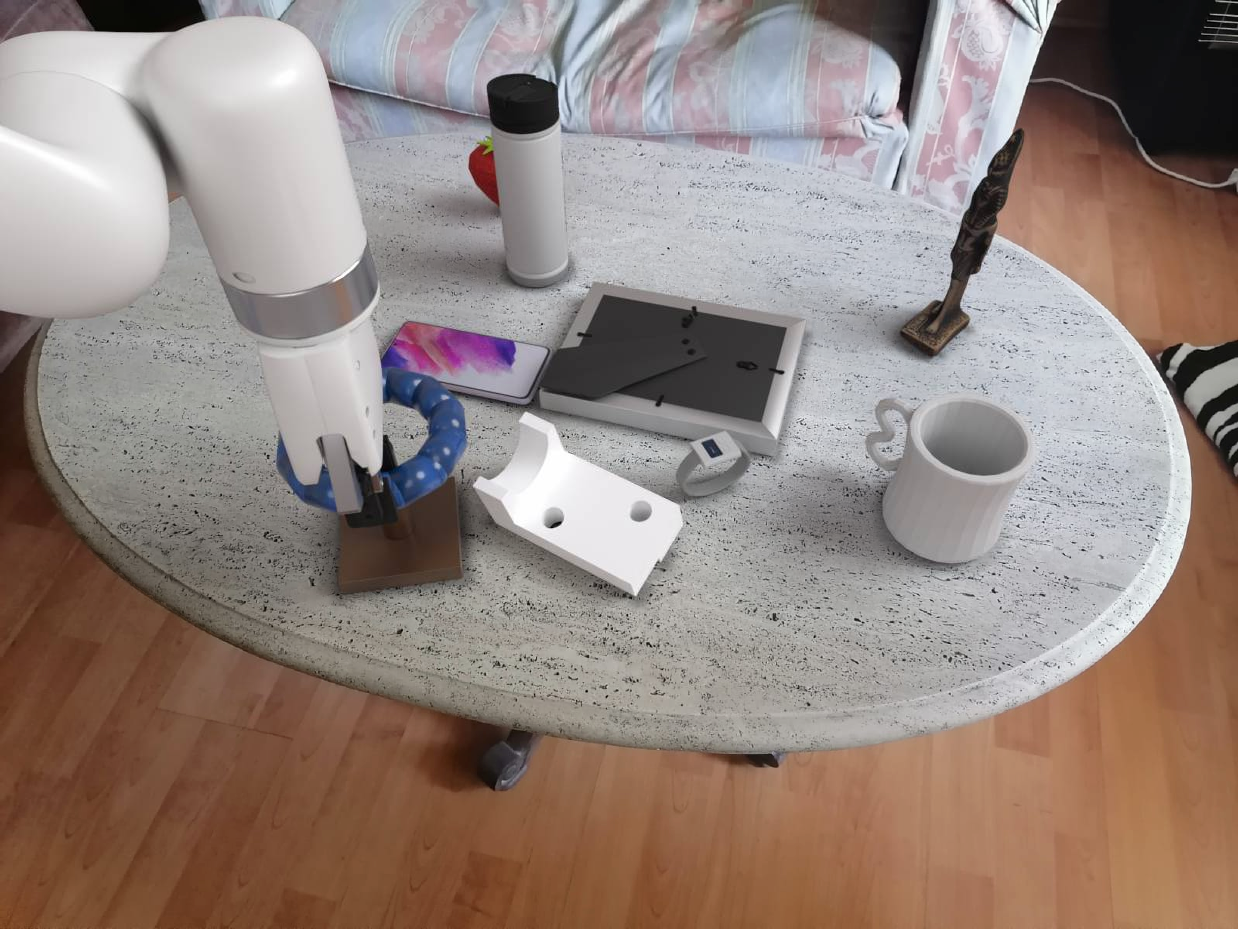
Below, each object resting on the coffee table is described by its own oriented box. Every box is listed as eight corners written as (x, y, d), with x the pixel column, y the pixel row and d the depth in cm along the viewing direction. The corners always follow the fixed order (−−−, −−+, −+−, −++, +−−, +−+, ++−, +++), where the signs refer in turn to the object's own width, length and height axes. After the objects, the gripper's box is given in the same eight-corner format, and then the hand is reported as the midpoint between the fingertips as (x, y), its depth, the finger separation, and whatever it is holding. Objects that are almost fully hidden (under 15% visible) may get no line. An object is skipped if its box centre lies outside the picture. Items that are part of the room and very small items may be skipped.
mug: (1020, 522, 75) (1064, 436, 67) (954, 589, 71) (993, 506, 63) (891, 439, 81) (918, 351, 73) (823, 496, 77) (844, 409, 69)
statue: (894, 341, 89) (949, 148, 74) (934, 305, 92) (993, 113, 77) (933, 362, 87) (997, 167, 72) (972, 324, 91) (1041, 131, 75)
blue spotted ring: (277, 536, 62) (266, 511, 60) (288, 399, 70) (278, 373, 68) (475, 507, 63) (470, 481, 61) (462, 376, 71) (457, 350, 69)
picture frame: (540, 408, 84) (773, 456, 80) (538, 385, 82) (777, 433, 78) (594, 298, 94) (804, 336, 90) (593, 274, 91) (808, 313, 87)
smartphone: (528, 401, 83) (371, 369, 86) (529, 408, 84) (374, 376, 86) (554, 346, 87) (405, 317, 90) (555, 353, 88) (406, 324, 91)
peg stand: (342, 594, 71) (306, 507, 63) (345, 502, 77) (313, 411, 69) (463, 578, 72) (442, 490, 64) (457, 487, 78) (437, 396, 70)
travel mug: (492, 274, 96) (467, 85, 81) (534, 243, 100) (518, 56, 84) (539, 298, 94) (522, 107, 78) (581, 265, 97) (572, 76, 82)
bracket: (499, 528, 76) (472, 486, 70) (546, 458, 79) (525, 411, 72) (637, 601, 72) (622, 563, 65) (683, 524, 74) (673, 480, 67)
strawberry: (484, 191, 106) (473, 106, 98) (549, 199, 105) (543, 115, 97) (466, 221, 102) (453, 136, 95) (533, 230, 101) (525, 145, 93)
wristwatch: (736, 464, 79) (742, 423, 75) (752, 487, 78) (759, 446, 74) (669, 487, 78) (671, 446, 74) (684, 512, 76) (687, 471, 72)
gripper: (241, 196, 54) (322, 420, 68) (207, 397, 43) (311, 613, 57) (375, 183, 55) (428, 407, 68) (374, 377, 44) (436, 595, 58)
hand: (374, 499), depth 63 cm, fingers closed on blue spotted ring, 2 cm apart
